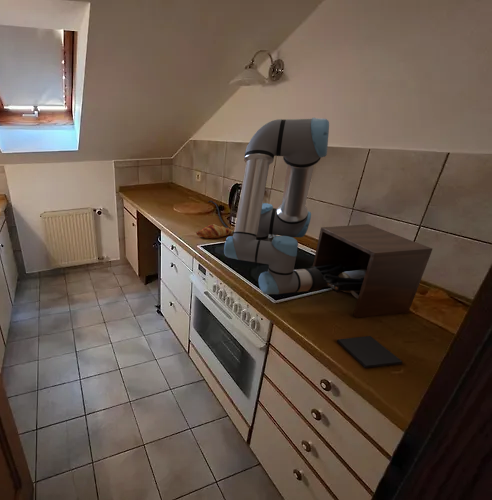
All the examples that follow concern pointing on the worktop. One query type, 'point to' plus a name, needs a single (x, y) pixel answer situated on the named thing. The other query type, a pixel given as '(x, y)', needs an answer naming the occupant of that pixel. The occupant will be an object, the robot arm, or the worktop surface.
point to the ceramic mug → (355, 275)
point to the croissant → (214, 231)
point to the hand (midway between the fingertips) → (368, 274)
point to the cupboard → (376, 265)
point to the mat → (369, 352)
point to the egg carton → (271, 237)
